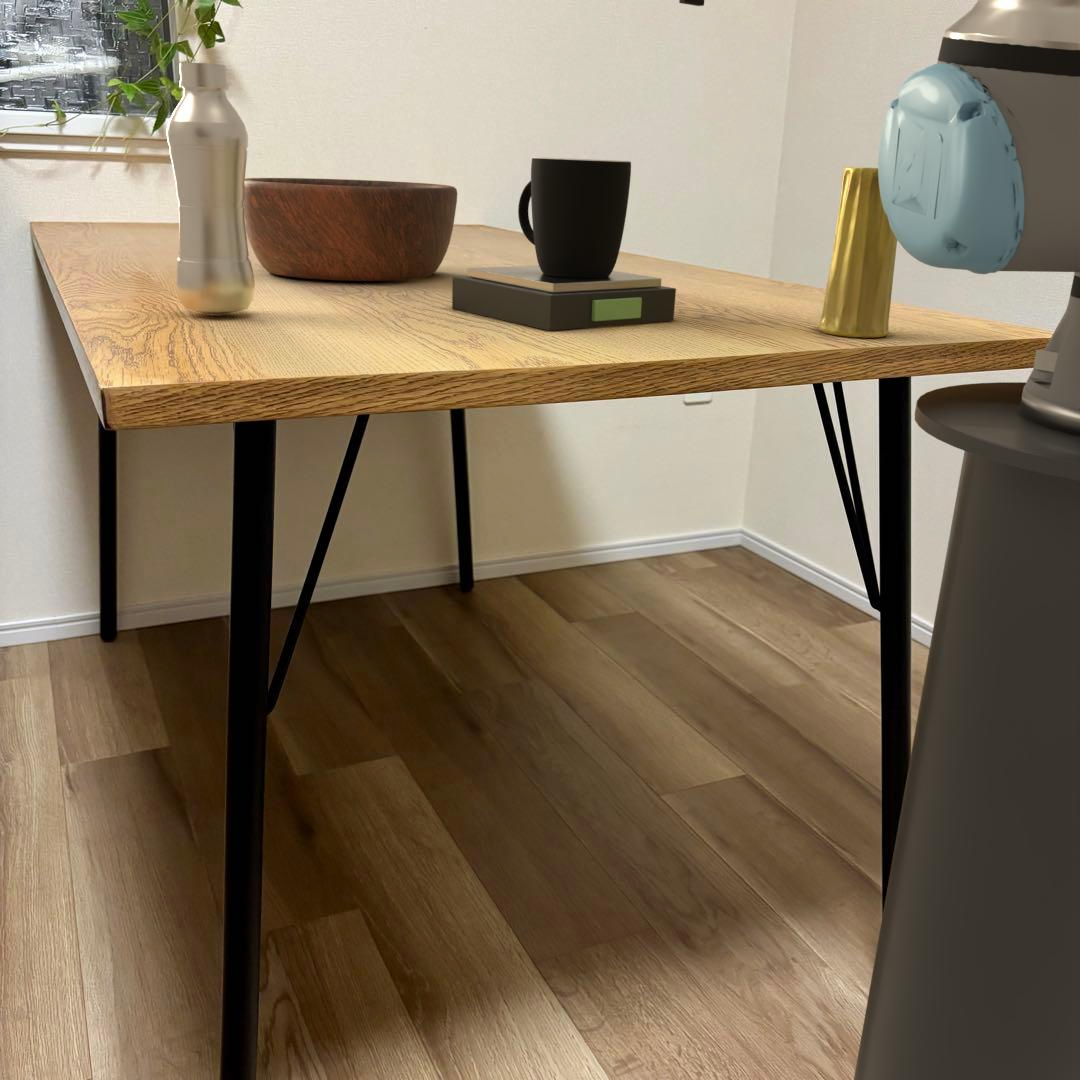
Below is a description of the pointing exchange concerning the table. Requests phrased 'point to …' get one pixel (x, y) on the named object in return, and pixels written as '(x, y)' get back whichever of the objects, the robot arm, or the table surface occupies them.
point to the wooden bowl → (348, 227)
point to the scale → (563, 305)
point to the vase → (860, 261)
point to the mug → (576, 214)
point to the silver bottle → (210, 194)
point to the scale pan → (561, 279)
